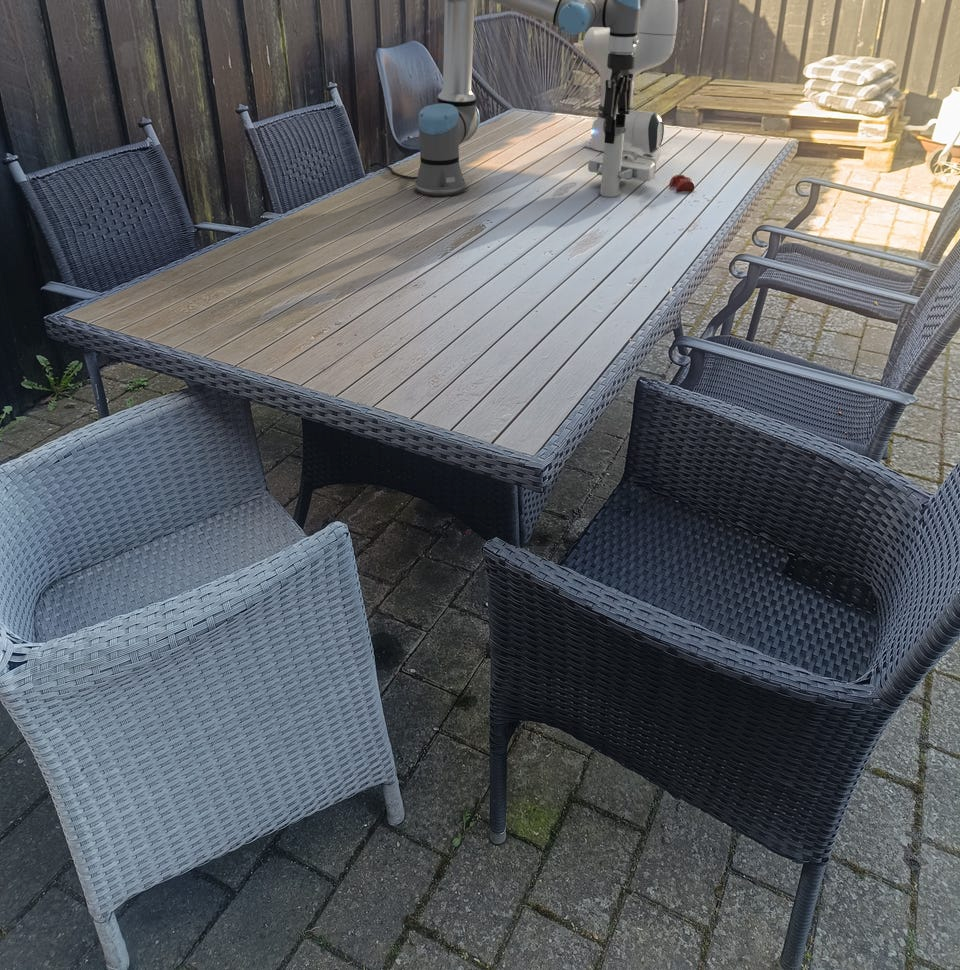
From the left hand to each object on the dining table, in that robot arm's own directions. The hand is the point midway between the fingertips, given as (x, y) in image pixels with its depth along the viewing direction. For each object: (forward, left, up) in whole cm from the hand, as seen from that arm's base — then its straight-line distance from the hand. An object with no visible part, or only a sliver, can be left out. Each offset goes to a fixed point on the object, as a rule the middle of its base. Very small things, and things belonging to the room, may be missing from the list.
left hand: (614, 140), depth 246 cm
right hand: (0, -1, -9) cm, 9 cm away
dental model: (+15, +18, -15) cm, 28 cm away
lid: (0, 0, +4) cm, 4 cm away
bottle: (0, 0, -15) cm, 15 cm away
